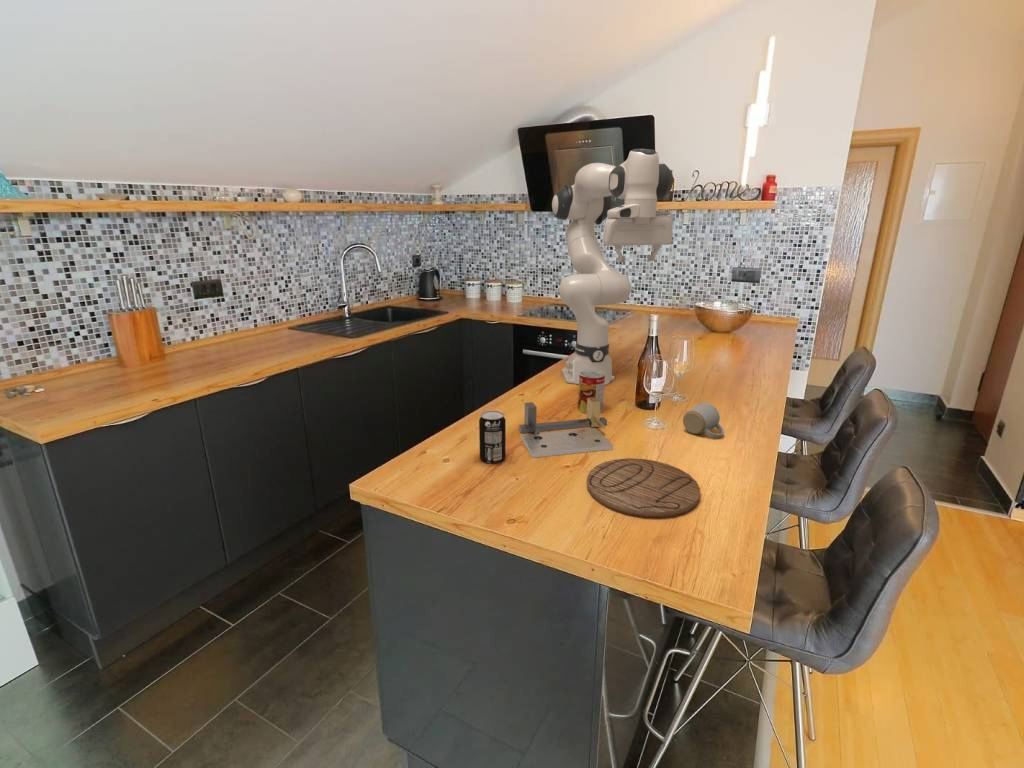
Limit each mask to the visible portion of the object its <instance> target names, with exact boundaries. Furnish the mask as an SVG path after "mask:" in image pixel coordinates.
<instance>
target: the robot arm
mask: <svg viewBox="0 0 1024 768" xmlns="http://www.w3.org/2000/svg"><path fill="white" fill-rule="evenodd" d="M659 157H660V156H659V153H658V152H657V151H656V150H655V149H650V148H649V149H648V148H647V149H646V148H634V149H631V150H630V151H629V153H628V156H627V158H626V160H625V161H623V162H622V163H620V164H617V165H616V166H615V165H612V164H608V163H604V162H592V163H588V164H585V165H584V166H582V167H581V168H580V169H578V171H577V172H576V174H575V177H574V184H572V185H569V184H568V183H567V184H565V185H564V186H563V187H562V188H560V189H558V190H557V191H556V192H555V193H554V194H553V197H552V201H551V208H552V214H553V216H554V217H555V218H556V219H558V220H561V221H562V220H563V221H566V220H569V221H570V222H569V223H568V225H567V227H566V230H565V232H566V233H565V234H566V245H567V250H568V253H569V258H570V261H571V266H572V267H573V269H574V270H575V271H576V272H577V273H576V274H572V275H568V276H565V277H564V278H563V279H562V280H561V282H560V284H559V287H558V293H559V298H560V300H561V301H562V302H563V303H564V304H565V305H566V306H568V307H569V308H570V310H571V311H572V312H573V315H574V317H575V319H576V325H577V327H576V328H577V329H576V333H577V336H576V337H577V338H576V343H575V345H574V352H573V353H572V354H571V355H570V356H569V357H568V360H566V361H564V364H565V368H561V374H562V376H563V379H564V381H565V382H566V383H568V384H574V385H575V384H576V385H579V373H580V372H581V371H584V370H597V371H601V372H603V373H605V383H604V386H607V385H608V384H610V383H611V381H614V380H615V379H616V378H615V376H614V375H613V373H612V370H613V368H612V363H613V362H612V358H611V356H610V355H609V354H610V344H609V334H610V332H609V330H610V324H609V322H608V320H607V319H606V317H603V316H602V315H600V314H598V313H596V310H595V309H596V306H608V305H609V306H610V305H613V306H614V305H616V304H620V303H625V302H626V301H627V300H629V299H628V298H629V297H630V295H631V293H632V286H631V282H630V279H629V278H628V276H626V275H624V274H623V273H621V272H618V271H617V270H616V269H614V268H613V267H612V266H611V265H610V264H609V262H608V261H607V260H606V259H605V257H604V255H603V252H602V249H601V247H600V244H599V240H598V237H597V235H596V231H595V225H598V226H599V225H601V224H602V223H603V221H604V220H606V221H605V224H604V225H603V233H602V234H603V235H602V243H603V244H604V245H605V246H613V247H614V251H615V253H616V255H617V262H618V263H625V262H626V255H623V254H622V250H623V246H651V248H652V251H651V252H650V254H648V255H647V262H656V255H657V254H658V252H659V251H660V249H661V246H665V245H666V246H667V245H668V246H669V245H671V244H672V242H673V234H674V233H673V232H674V230H673V223H674V216H673V214H672V213H671V212H670V211H668V210H665V211H661V210H657V206H658V205H657V204H658V201H661V200H663V199H664V198H665V197H667V196H668V195H669V193H671V190H672V189H673V185H674V175H673V174H674V173H673V172H672V171H671V169H670V168H669V166H668V165H667V164H666V163H660V160H659V159H660V158H659ZM612 196H613V197H614V198H615V199H619V200H624V204H622V205H619V206H617V207H613V197H612ZM607 218H608V219H607Z"/></svg>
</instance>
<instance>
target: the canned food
mask: <svg viewBox="0 0 1024 768" xmlns="http://www.w3.org/2000/svg"><path fill="white" fill-rule="evenodd" d="M604 383H605V373H603V372H601V371H597V370H584V371H581V372H580V373H579V384H578V395H577V396H578V398H577V399H578V400H577V410H578V411H579V413H582V414H586V415H587V398H591V397H596V398H597V399H598V400H599V401H600V414H601V413H602V412H603V411H604V398H605V385H604Z"/></svg>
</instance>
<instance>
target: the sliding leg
mask: <svg viewBox="0 0 1024 768" xmlns="http://www.w3.org/2000/svg"><path fill="white" fill-rule="evenodd" d="M600 414H601V413H600V401H599V400H598V399H597V398H596V397H591V398H587V414H586V417H585V419H589V420H590V421H591V427H590V428H599V427H600V428H601V429H602V430H603V429H604V430H605V429H606V425H603V424H602V423H601V422H600V421H599V418H601V417H600Z"/></svg>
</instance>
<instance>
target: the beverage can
mask: <svg viewBox="0 0 1024 768" xmlns="http://www.w3.org/2000/svg"><path fill="white" fill-rule="evenodd" d="M506 424H507V423H506V418H505V414H504V413H503V411H499V410H486V411H483V412H482V413H480V418H479V419H478V430H479V435H478V439H479V457H480V460H482V461H483V462H485V463H488V464H497V463H501V462H502V461H503V460H504V459H505V458H506V455H507V454H506V453H507V451H506V446H507V445H506V443H507V442H506V441H507V439H506V435H507V434H506V431H507V430H506Z"/></svg>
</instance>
